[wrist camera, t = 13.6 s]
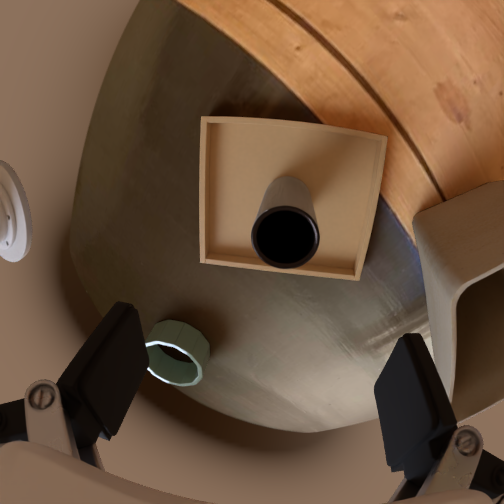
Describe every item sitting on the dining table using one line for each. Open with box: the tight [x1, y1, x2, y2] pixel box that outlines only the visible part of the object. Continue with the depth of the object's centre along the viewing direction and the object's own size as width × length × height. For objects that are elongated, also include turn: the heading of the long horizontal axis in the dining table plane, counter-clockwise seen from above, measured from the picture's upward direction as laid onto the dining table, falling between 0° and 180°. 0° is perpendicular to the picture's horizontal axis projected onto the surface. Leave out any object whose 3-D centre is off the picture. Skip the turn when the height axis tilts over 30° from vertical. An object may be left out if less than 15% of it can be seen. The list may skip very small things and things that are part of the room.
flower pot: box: [412, 181, 504, 424], centre depth 19 cm, size 19×19×17 cm
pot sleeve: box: [145, 320, 210, 386], centre depth 37 cm, size 9×9×4 cm
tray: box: [199, 116, 388, 281], centre depth 27 cm, size 17×15×2 cm
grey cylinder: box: [251, 176, 320, 269], centre depth 23 cm, size 4×4×10 cm
